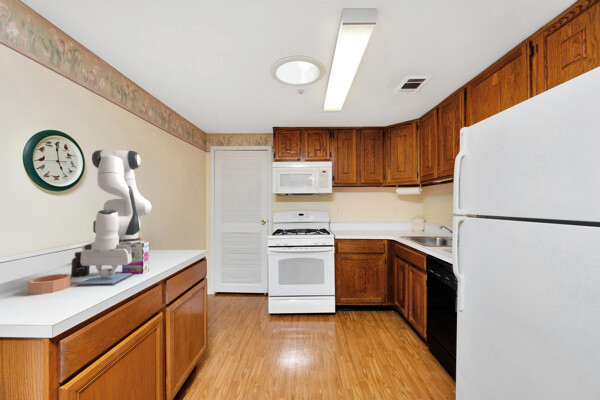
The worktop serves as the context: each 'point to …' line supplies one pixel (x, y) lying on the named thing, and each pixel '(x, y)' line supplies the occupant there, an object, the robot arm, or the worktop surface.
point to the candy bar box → (137, 257)
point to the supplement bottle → (78, 266)
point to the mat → (104, 284)
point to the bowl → (49, 284)
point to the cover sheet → (105, 278)
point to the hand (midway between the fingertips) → (106, 274)
